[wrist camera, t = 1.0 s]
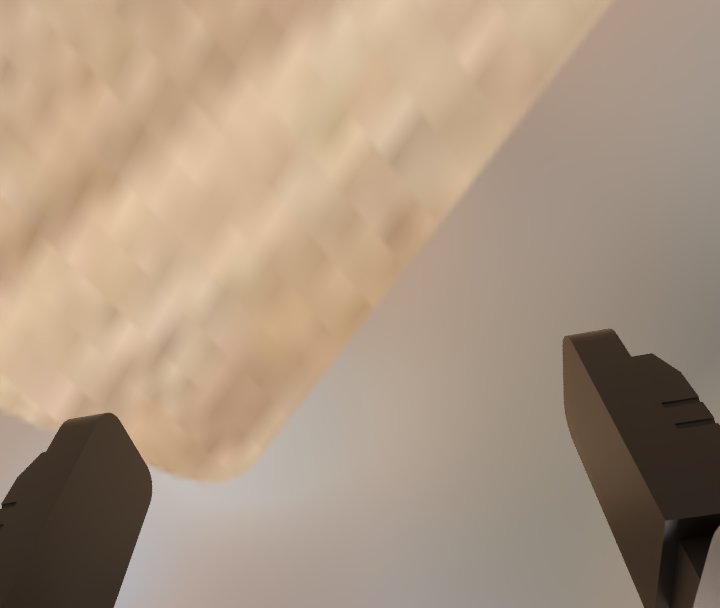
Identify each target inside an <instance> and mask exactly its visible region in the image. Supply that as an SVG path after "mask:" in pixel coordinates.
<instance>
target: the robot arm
mask: <svg viewBox="0 0 720 608" xmlns="http://www.w3.org/2000/svg"><path fill="white" fill-rule="evenodd" d="M563 381H564V407H565V414H566V419H567V423H568V427H569V431H570V434H571V437H572V439H573V442H574V444H575V447H576V449H577V451H578V454H579V456H580V458H581V460H582V463H583V465H584V468H585V470H586V472H587V475H588V477H589V479H590V482H591V484H592V486H593V488H594V491H595V493H596V496H597V498H598V500H599V503H600V505H601V507H602V510H603V512H604V514H605V517H606V519H607V521H608V524H609V526H610V528H611V531H612V533H613V535H614V538H615V540H616V543H617V545H618V547H619V550H620V552H621V554H622V556H623V559H624V561H625V564H626V566H627V568H628V571H629V573H630V575H631V578H632V580H633V582H634V585H635V587H636V589H637V592H638V594H639V596H640V598H641V601H642V603H643V606H644V608H720V425H719V424H718V423H715V421H714V417H713V416H712V414H711V413H710V411H709V410H708V409H707V407H706V406H705V405H704V403H703V402H700V401H699V397H698V395H697V394H696V392H695V391H694V390H693V388H692V387H691V386H690V384H689V383H688V381H687V380H686V379H685V377H684V376H683V375H682V373H681V372H680V371H678V370H677V369H675V368H674V367H672V366H670V365H669V364H667V363H666V362H664V361H663V360H661V359H660V358H658V357H657V356H655V355H654V354H646V355H640V356H634V357H631V356H630V354H629V353H628V351H627V349H626V348H625V346H624V345H623V343H622V342H621V340H620V339H619V337H618V335H617V334H616V333H615V331H614V330H612V329H604V330H598V331H592V332H587V333H581V334H575V335H569V336H565V337H564V339H563ZM151 497H152V480H151V475H150V472H149V469H148V467H147V465H146V464H145V462H144V460H143V459H142V457H141V455H140V454H139V452H138V450H137V449H136V447H135V445H134V444H133V442H132V440H131V439H130V437H129V435H128V434H127V432H126V430H125V429H124V427H123V425H122V424H121V422H120V420H119V419H118V418H117V417H116V416H115V415H114V414H112V413H104V414H98V415H92V416H86V417H80V418H74V419H69V420H67V421H65V422H64V423H63V424H62V426H61V427H60V429H59V430H58V432H57V434H56V435H55V437H54V439H53V441H52V442H51V444H50V446H49V448H48V449H47V451H46V452H43V453H41V454H40V455H39V456H38V457H37V458H36V459H35V460H34V461H33V463H31V464H30V465H29V467H27V468H26V470H25V471H24V472H22V473H21V474H20V475H19V477H17V479H16V481H15V483H14V484H13V486H12V487H11V489H10V491H9V492H8V494H7V496H6V497H5V499H4V501H3V502H2V509H0V608H113V607H114V605H115V602H116V599H117V596H118V594H119V591H120V588H121V585H122V582H123V579H124V576H125V574H126V571H127V568H128V565H129V562H130V559H131V556H132V553H133V550H134V547H135V545H136V542H137V539H138V536H139V533H140V530H141V528H142V525H143V522H144V519H145V516H146V513H147V510H148V508H149V505H150V501H151Z"/></svg>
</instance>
